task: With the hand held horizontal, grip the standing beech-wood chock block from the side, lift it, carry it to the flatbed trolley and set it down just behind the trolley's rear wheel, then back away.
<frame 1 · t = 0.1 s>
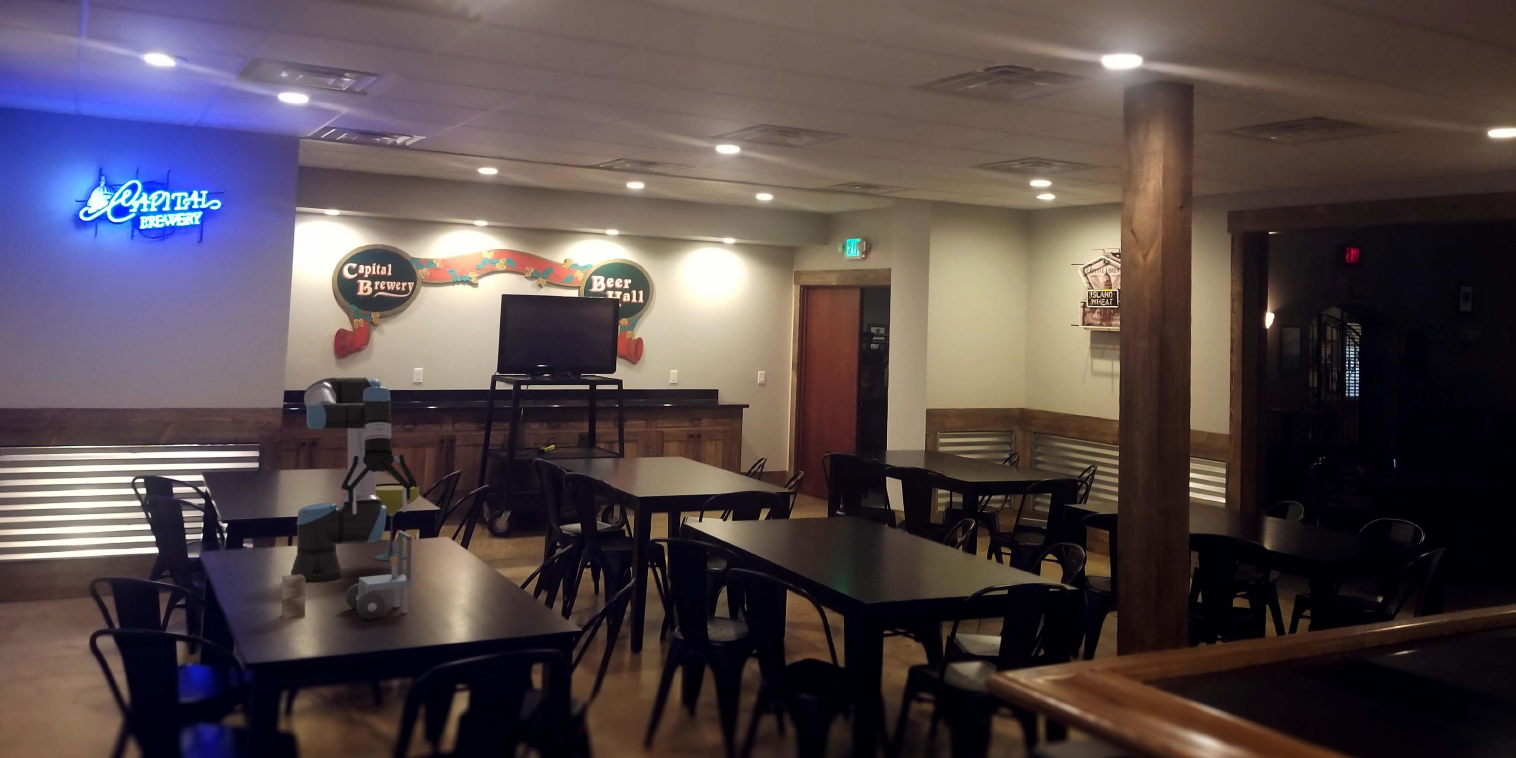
hand: (380, 512, 308), 28 cm above the table, fingers open, 13 cm apart
cocktail glass: (391, 558, 380), on the table
chock: (293, 616, 300), on the table
trolley: (377, 612, 306), on the table
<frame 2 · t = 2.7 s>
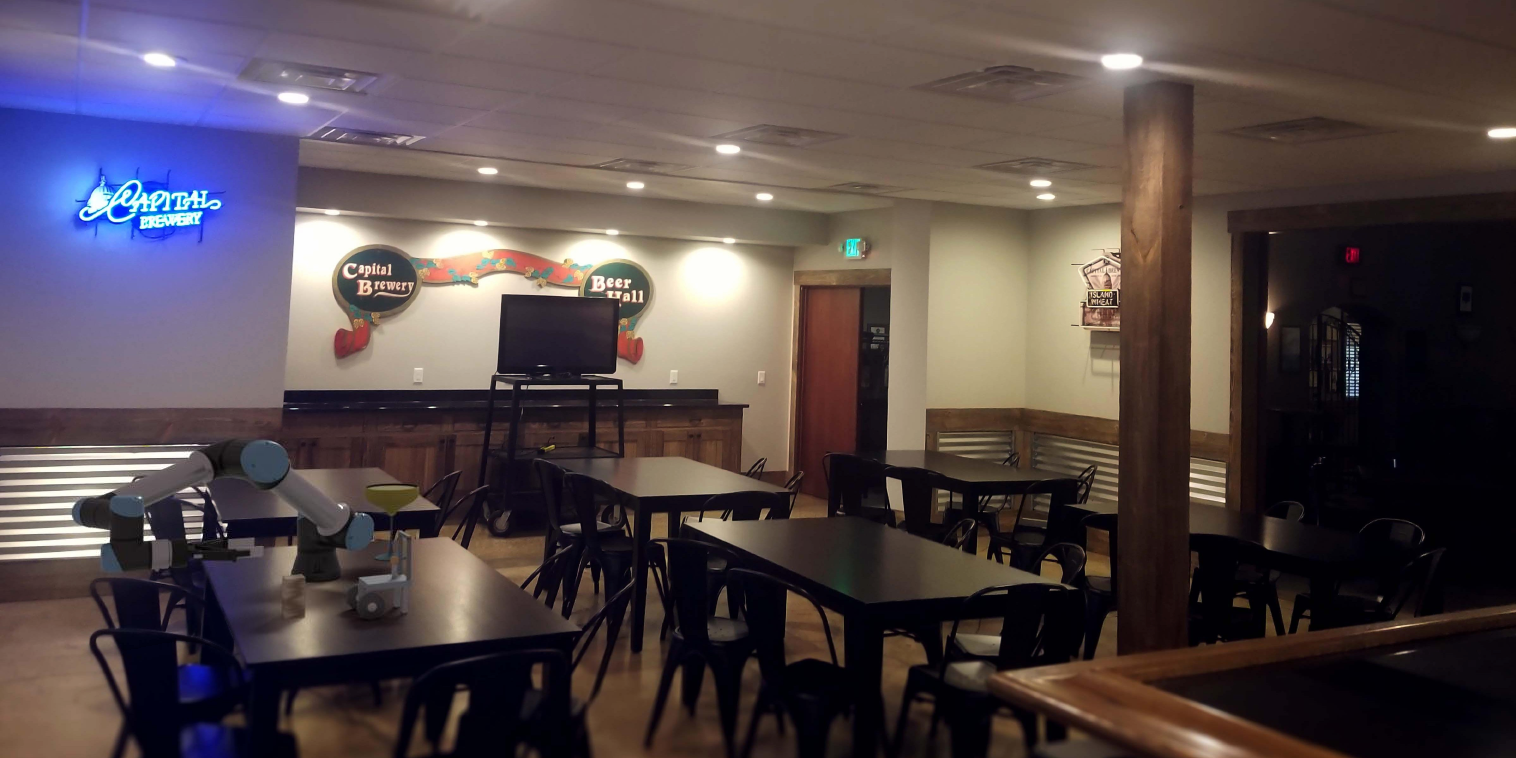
hand: (258, 546, 294), 20 cm above the table, fingers open, 13 cm apart
nothing on the table moved.
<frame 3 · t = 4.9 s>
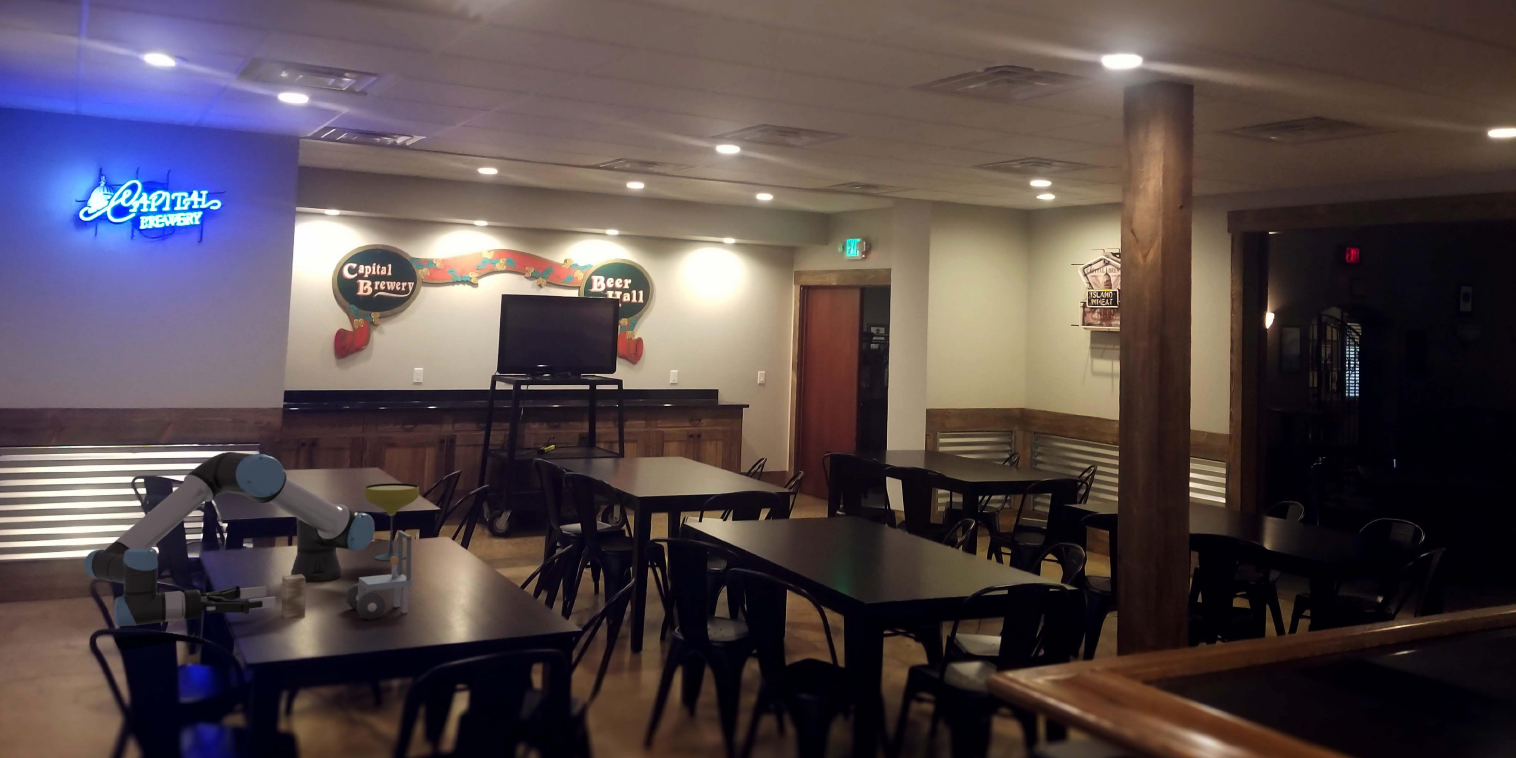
hand: (270, 596, 296), 6 cm above the table, fingers open, 13 cm apart
nothing on the table moved.
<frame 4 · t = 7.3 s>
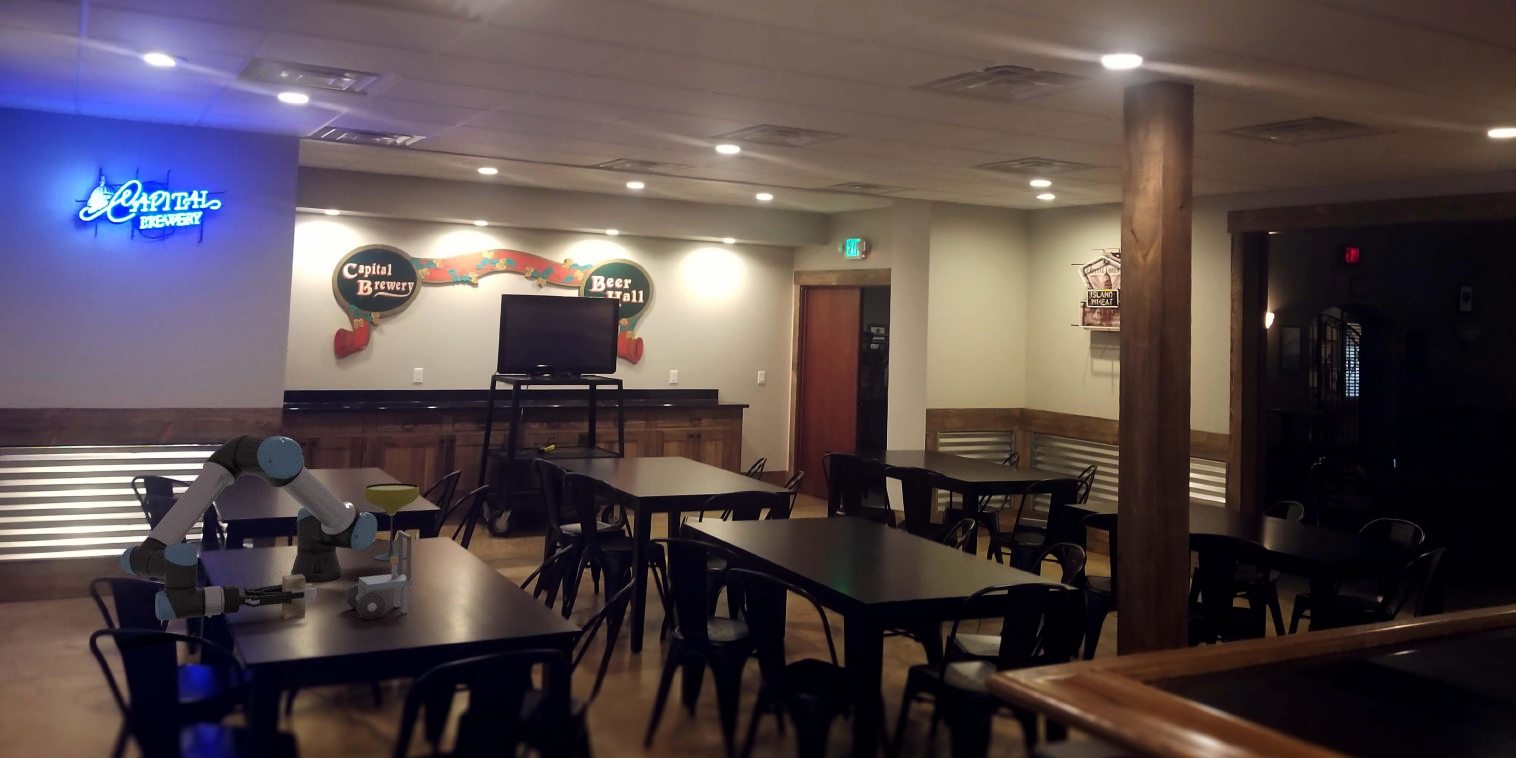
hand: (313, 590, 302), 7 cm above the table, fingers closed on chock, 5 cm apart
chock: (293, 616, 300), on the table, touching gripper
everything else where it was.
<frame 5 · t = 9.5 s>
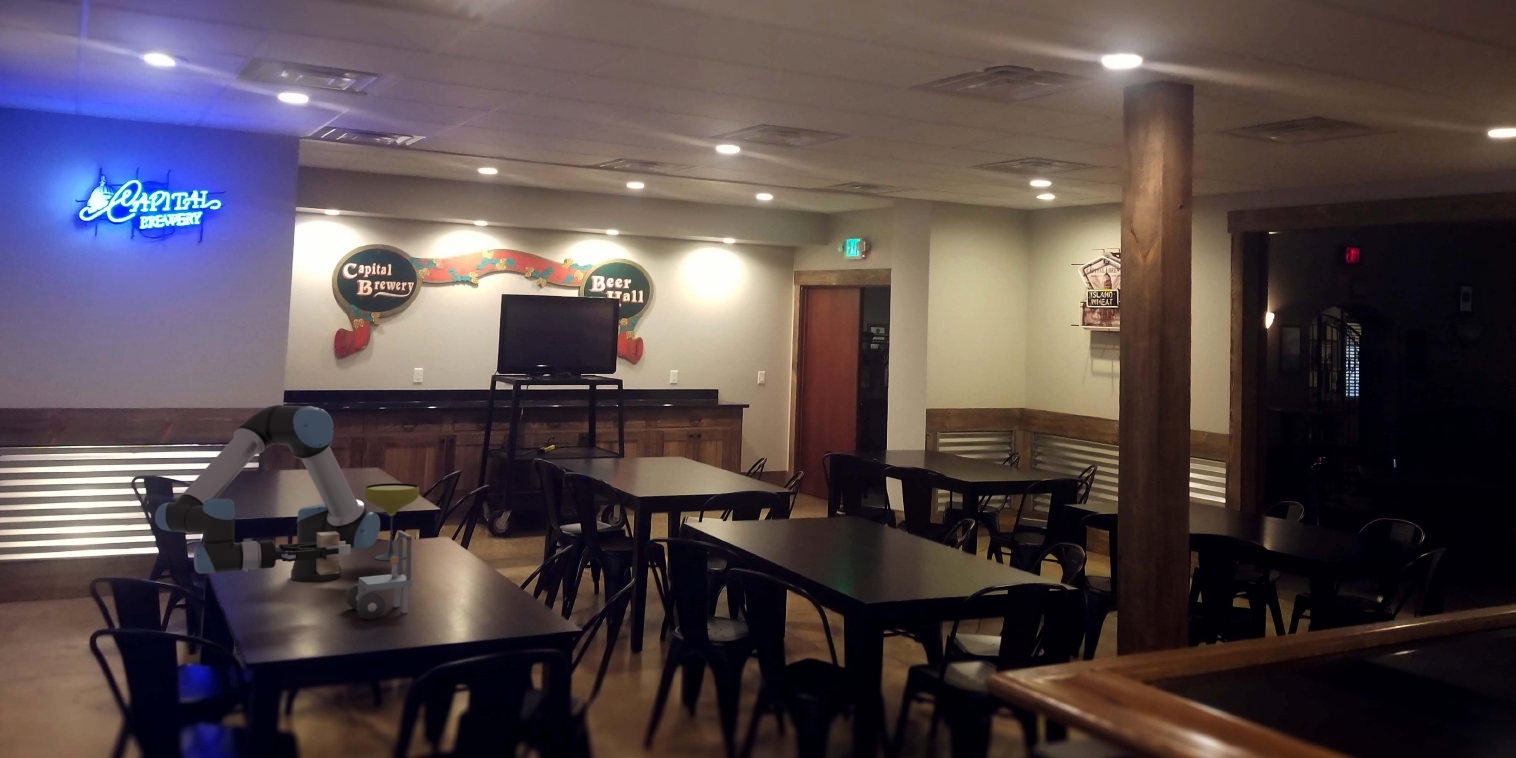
hand: (347, 547, 307), 18 cm above the table, fingers closed on chock, 5 cm apart
chock: (327, 572, 304), point 11 cm above the table, touching gripper
everything else where it was.
when the fingers open (7 cm above the table, at t = 11.7 s): chock stays where it is, on the table.
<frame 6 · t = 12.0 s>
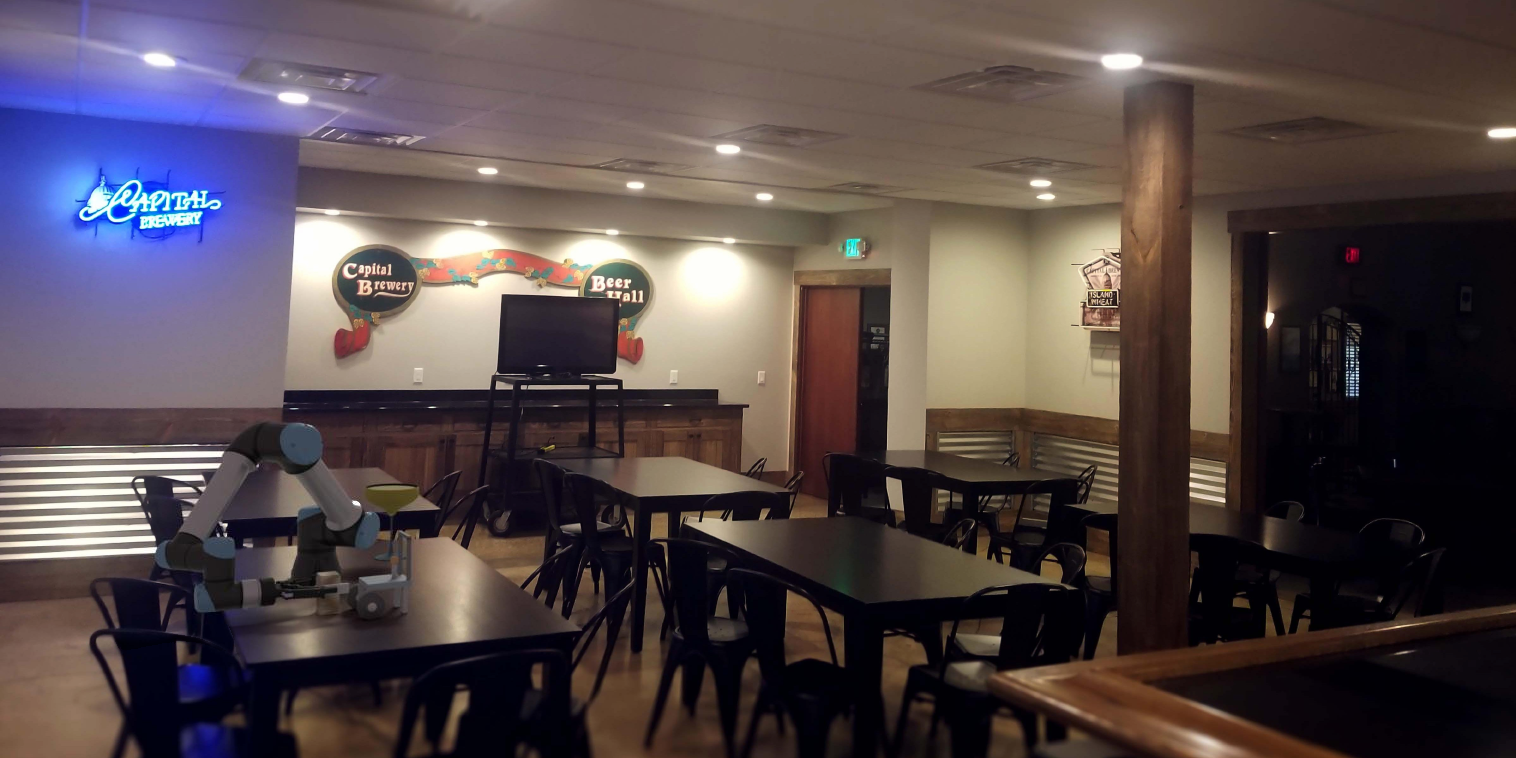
hand: (344, 584, 307), 7 cm above the table, fingers open, 9 cm apart
chock: (327, 612, 305), on the table
everything else where it was.
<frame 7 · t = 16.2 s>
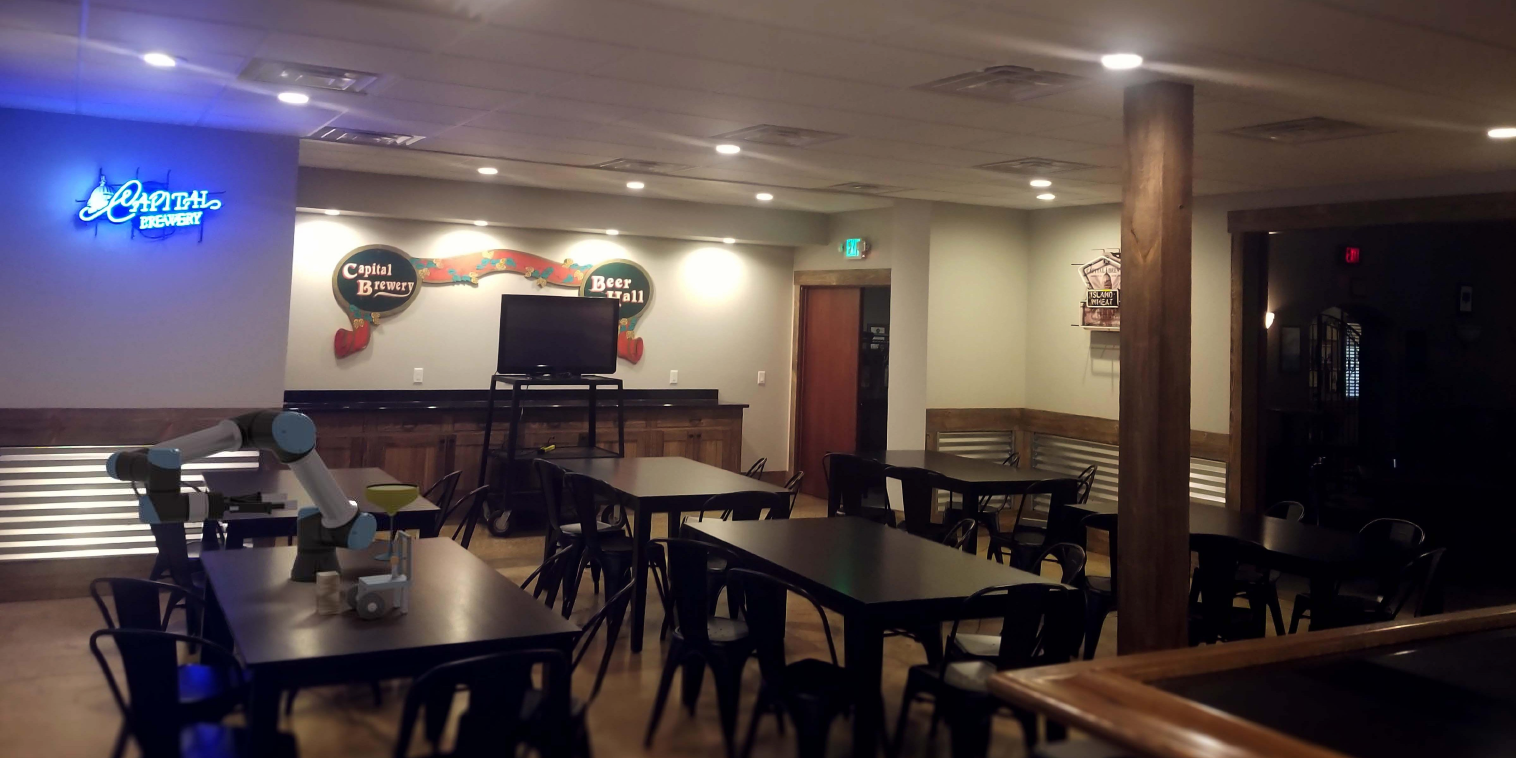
hand: (292, 501, 298), 32 cm above the table, fingers open, 13 cm apart
nothing on the table moved.
at the end: chock inside the target area on the table beside the trolley (0.3 cm from its centre), on the table; chock tilted 0°; the gripper is holding nothing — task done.
